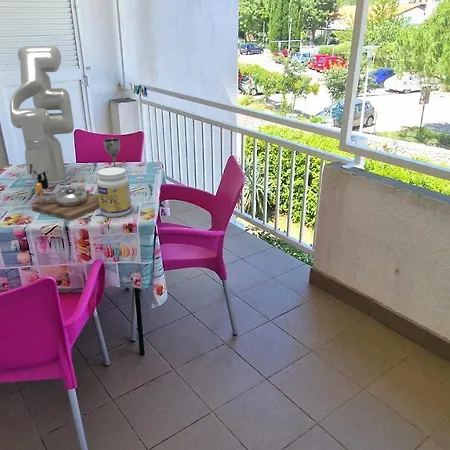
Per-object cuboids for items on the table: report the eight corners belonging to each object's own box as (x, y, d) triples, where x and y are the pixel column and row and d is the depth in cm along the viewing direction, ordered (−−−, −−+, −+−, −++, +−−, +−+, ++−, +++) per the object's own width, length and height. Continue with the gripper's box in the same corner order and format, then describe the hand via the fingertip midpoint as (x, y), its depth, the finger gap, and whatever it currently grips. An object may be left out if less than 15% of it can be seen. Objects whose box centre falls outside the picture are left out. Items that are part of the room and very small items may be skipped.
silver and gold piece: (89, 195, 184) (86, 176, 180) (84, 205, 173) (81, 185, 169) (41, 197, 181) (37, 178, 178) (33, 208, 171) (29, 188, 167)
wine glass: (115, 171, 222) (111, 142, 216) (104, 169, 226) (100, 140, 220) (126, 167, 228) (122, 139, 222) (115, 165, 232) (111, 137, 226)
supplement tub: (96, 217, 167) (90, 175, 160) (106, 206, 178) (100, 166, 172) (127, 218, 167) (123, 175, 160) (135, 206, 178) (131, 166, 171)
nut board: (32, 210, 175) (31, 205, 174) (74, 194, 192) (73, 189, 191) (71, 220, 165) (70, 215, 164) (111, 202, 182) (111, 197, 181)
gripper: (38, 139, 178) (46, 182, 186) (14, 148, 165) (24, 194, 172) (54, 140, 176) (62, 183, 184) (32, 149, 163) (41, 195, 171)
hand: (44, 188), depth 178 cm, fingers closed
